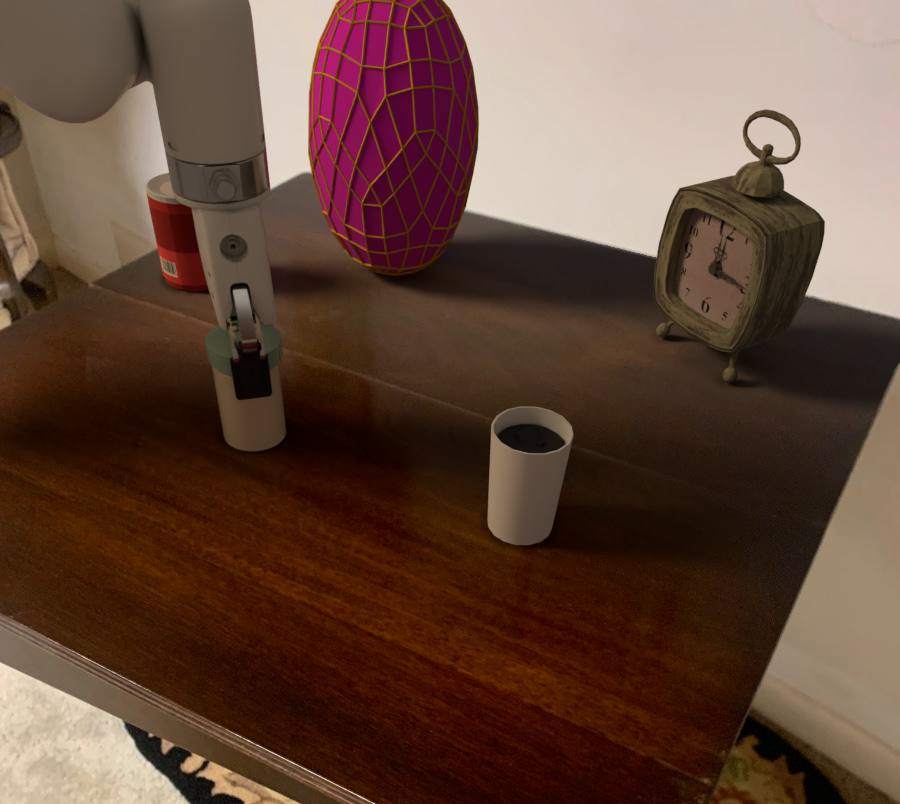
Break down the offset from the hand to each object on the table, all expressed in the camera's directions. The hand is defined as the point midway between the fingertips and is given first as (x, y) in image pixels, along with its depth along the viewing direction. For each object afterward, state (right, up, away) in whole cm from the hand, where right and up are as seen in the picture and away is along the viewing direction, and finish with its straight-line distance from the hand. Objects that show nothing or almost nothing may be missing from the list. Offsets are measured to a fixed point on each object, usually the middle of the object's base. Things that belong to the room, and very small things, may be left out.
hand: (248, 372), depth 81 cm
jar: (0, -5, +5) cm, 7 cm away
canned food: (-12, +18, +26) cm, 34 cm away
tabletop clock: (+48, +7, +19) cm, 52 cm away
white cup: (+25, -14, -3) cm, 29 cm away
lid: (0, +2, -2) cm, 3 cm away
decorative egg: (+11, +21, +30) cm, 39 cm away
